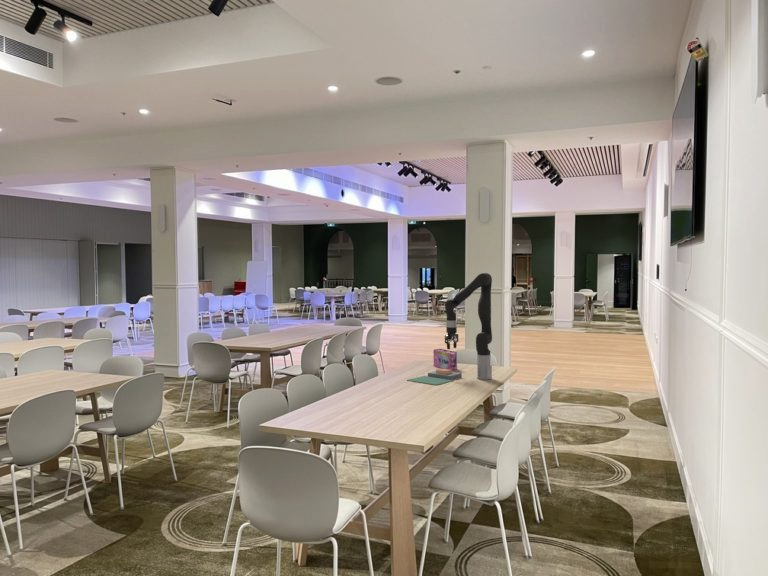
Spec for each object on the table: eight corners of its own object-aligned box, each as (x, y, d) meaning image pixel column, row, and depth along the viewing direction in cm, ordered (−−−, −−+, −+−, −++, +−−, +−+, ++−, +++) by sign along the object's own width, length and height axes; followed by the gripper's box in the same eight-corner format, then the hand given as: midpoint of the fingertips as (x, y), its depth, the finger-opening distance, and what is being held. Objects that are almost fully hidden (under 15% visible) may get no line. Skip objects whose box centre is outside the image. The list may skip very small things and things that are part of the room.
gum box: (458, 369, 443) (458, 352, 443) (450, 370, 440) (449, 353, 439) (441, 365, 464) (441, 348, 464) (433, 366, 461) (433, 349, 460)
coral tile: (451, 373, 412) (451, 369, 411) (446, 374, 406) (446, 371, 406) (441, 371, 418) (441, 368, 417) (436, 373, 412) (435, 369, 412)
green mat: (453, 380, 398) (453, 380, 398) (436, 385, 384) (436, 384, 384) (424, 376, 416) (424, 375, 416) (406, 380, 401) (406, 379, 401)
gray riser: (461, 377, 411) (461, 373, 411) (450, 380, 401) (450, 376, 401) (439, 374, 425) (439, 370, 425) (427, 376, 414) (427, 372, 414)
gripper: (450, 327, 411) (450, 350, 411) (461, 325, 421) (461, 347, 422) (441, 327, 416) (441, 349, 416) (452, 325, 426) (453, 347, 427)
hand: (451, 348), depth 419 cm, fingers open, 7 cm apart
